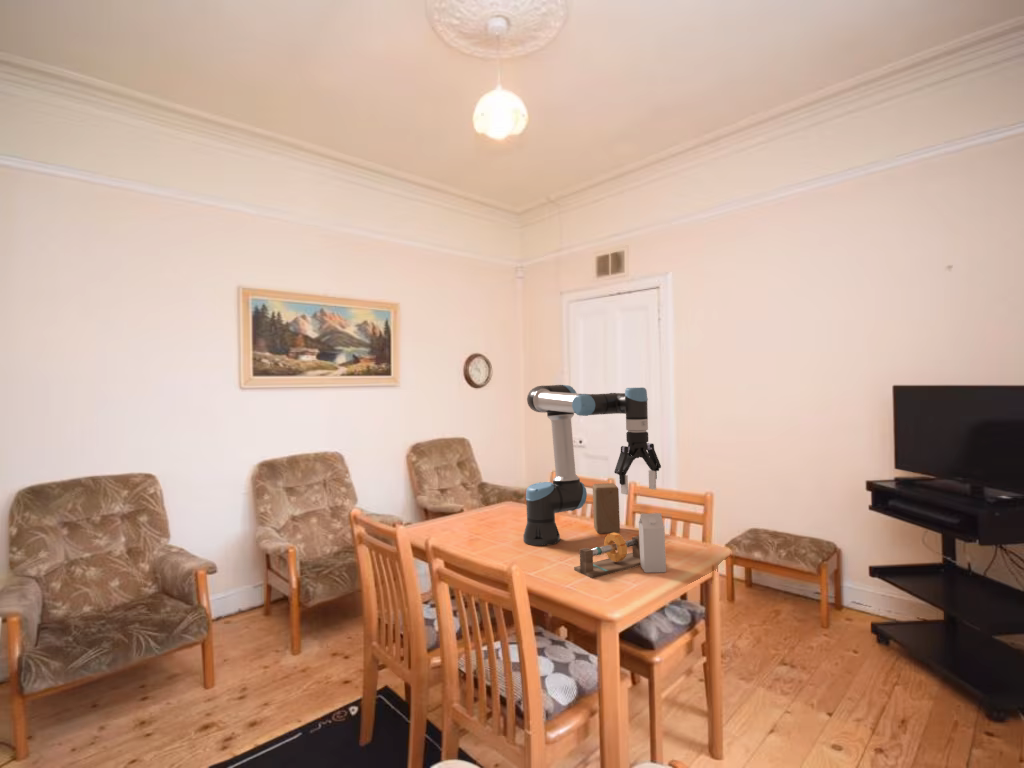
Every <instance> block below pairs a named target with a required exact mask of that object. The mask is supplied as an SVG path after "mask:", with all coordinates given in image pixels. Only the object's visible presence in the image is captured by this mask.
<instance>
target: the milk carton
mask: <svg viewBox="0 0 1024 768" xmlns="http://www.w3.org/2000/svg"><path fill="white" fill-rule="evenodd" d="M639 516H640V517H639V520H638V536H639V544H640V566H639V567H641V569H642V570H643V572H644V573H646V574H647V573H666V572H667V565H666V564H667V563H666V562H667V561H666V556H667V555H666V536H665V535H666V533H665V532H666V531H665V525H664V521H663V517H662V512H658V513H657V512H655V513H640V515H639Z"/></svg>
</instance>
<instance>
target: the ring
mask: <svg viewBox="0 0 1024 768" xmlns="http://www.w3.org/2000/svg"><path fill="white" fill-rule="evenodd" d="M625 541H626V540H625V539H624V537H623V535H621V533H615V532H614V533H607V535H606V536H605V537H604V540H603V546H607V545H612V544H616V545H617V550H615V551H611V552H607V553H605V554H606V556H607V558H608V559H609V558H610V560H612V561H615V562H618V561H622V560H623V559H624V558H625V557H626V554H628V547H627V545H625V544H626V542H625Z"/></svg>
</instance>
